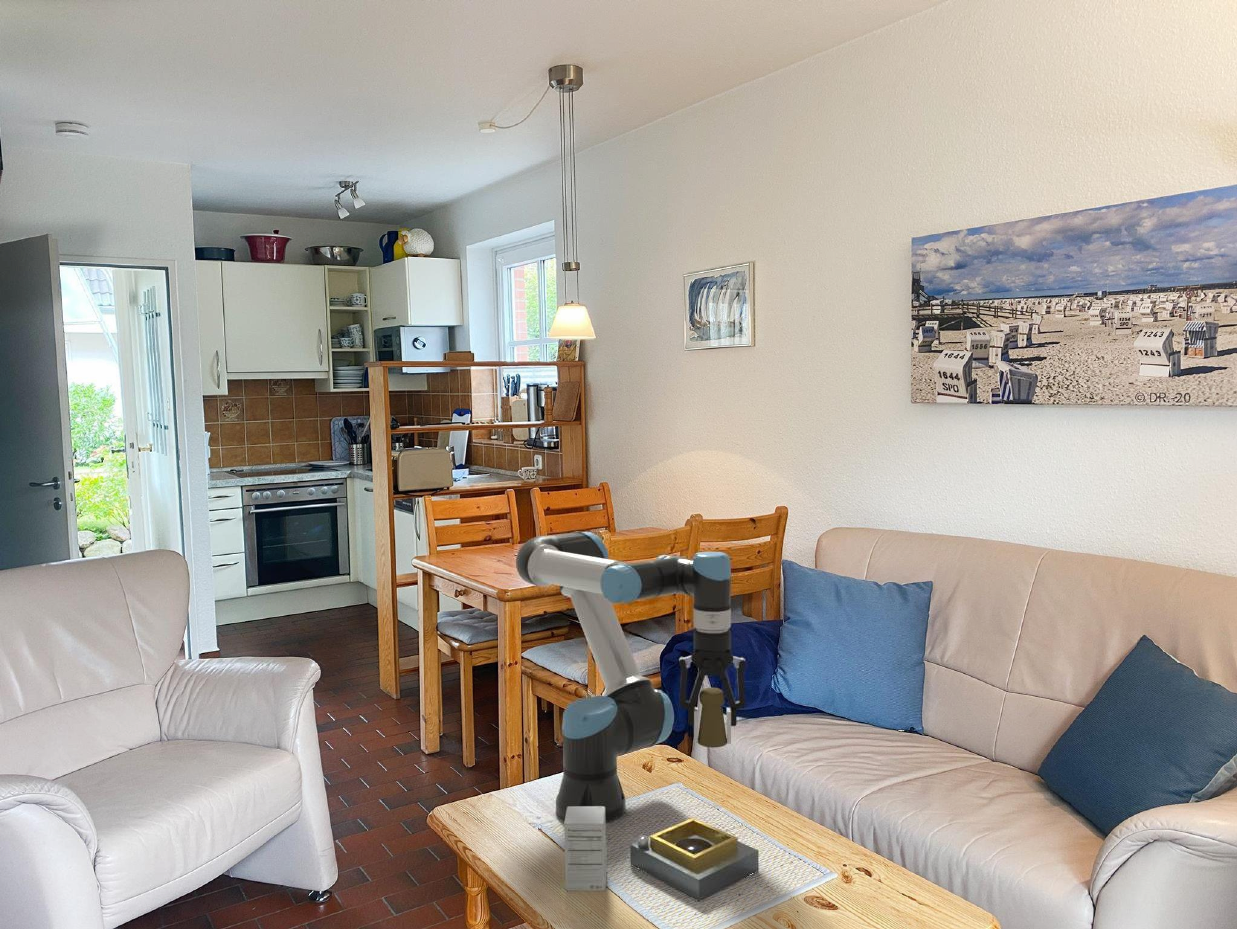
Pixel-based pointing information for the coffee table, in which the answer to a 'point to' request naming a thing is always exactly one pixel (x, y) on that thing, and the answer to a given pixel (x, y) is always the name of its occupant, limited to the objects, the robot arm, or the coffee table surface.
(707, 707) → the olive brown pawn
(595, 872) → the supplement box
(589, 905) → the coffee table surface
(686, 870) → the grey base with frame
